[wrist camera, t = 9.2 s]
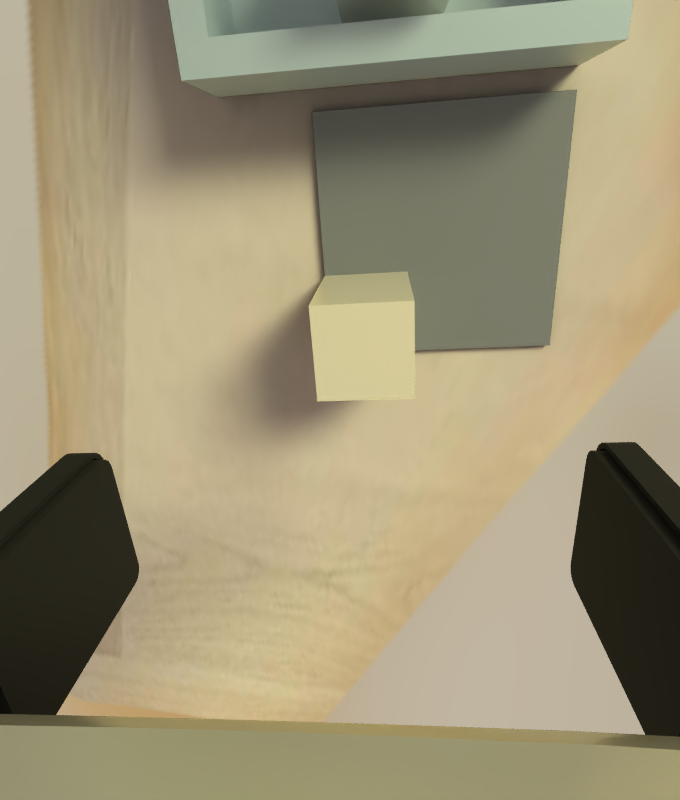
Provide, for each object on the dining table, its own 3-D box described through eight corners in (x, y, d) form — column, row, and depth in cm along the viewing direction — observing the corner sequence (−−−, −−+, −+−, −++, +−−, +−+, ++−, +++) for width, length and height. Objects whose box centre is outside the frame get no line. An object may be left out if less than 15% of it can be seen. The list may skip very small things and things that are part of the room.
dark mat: (312, 112, 22) (311, 112, 22) (574, 90, 21) (577, 89, 21) (331, 351, 27) (330, 353, 26) (547, 343, 26) (549, 345, 25)
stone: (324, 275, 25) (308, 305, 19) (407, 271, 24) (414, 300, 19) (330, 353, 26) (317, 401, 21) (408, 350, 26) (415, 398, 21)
